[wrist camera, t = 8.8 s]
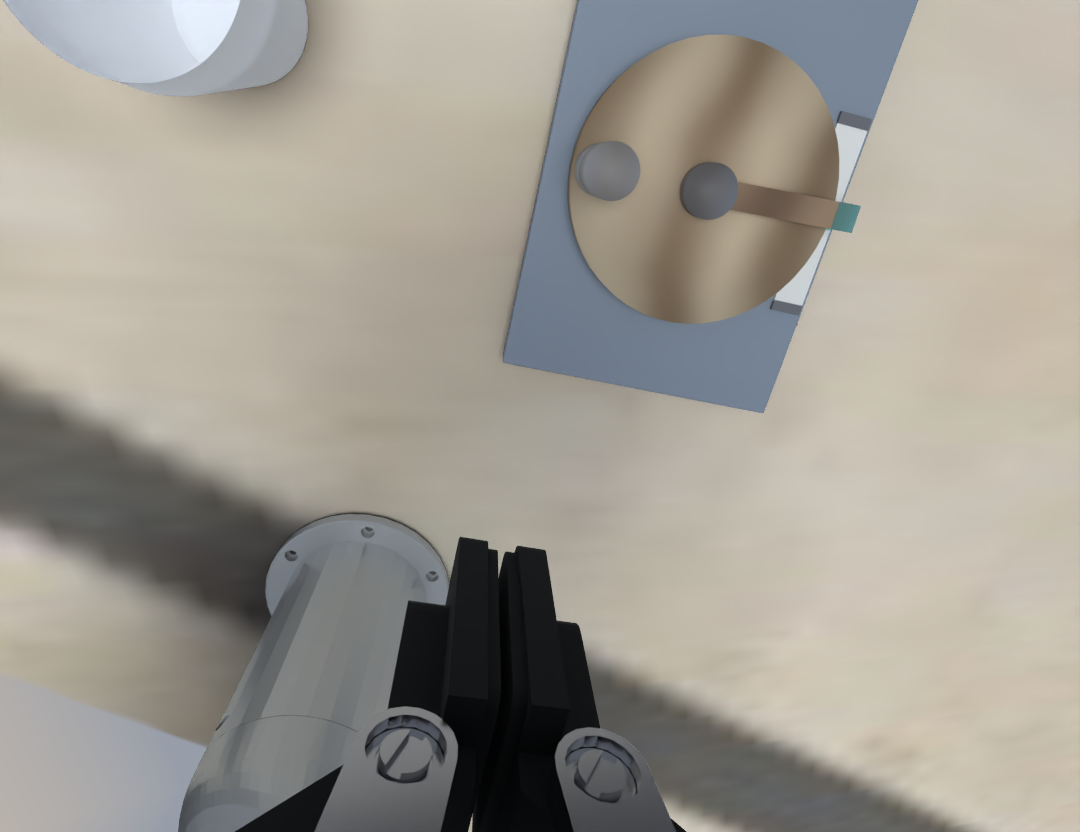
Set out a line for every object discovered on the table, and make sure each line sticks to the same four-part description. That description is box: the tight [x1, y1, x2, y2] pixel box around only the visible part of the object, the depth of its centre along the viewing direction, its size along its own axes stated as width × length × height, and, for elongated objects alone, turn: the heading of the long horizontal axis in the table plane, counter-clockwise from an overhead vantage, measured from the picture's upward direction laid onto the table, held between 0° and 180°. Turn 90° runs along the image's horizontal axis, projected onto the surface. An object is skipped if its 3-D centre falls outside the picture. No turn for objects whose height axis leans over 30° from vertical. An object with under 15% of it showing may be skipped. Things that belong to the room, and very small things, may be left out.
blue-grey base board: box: [503, 0, 918, 413], centre depth 36 cm, size 24×17×2 cm
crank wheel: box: [568, 35, 861, 324], centre depth 33 cm, size 15×14×6 cm
